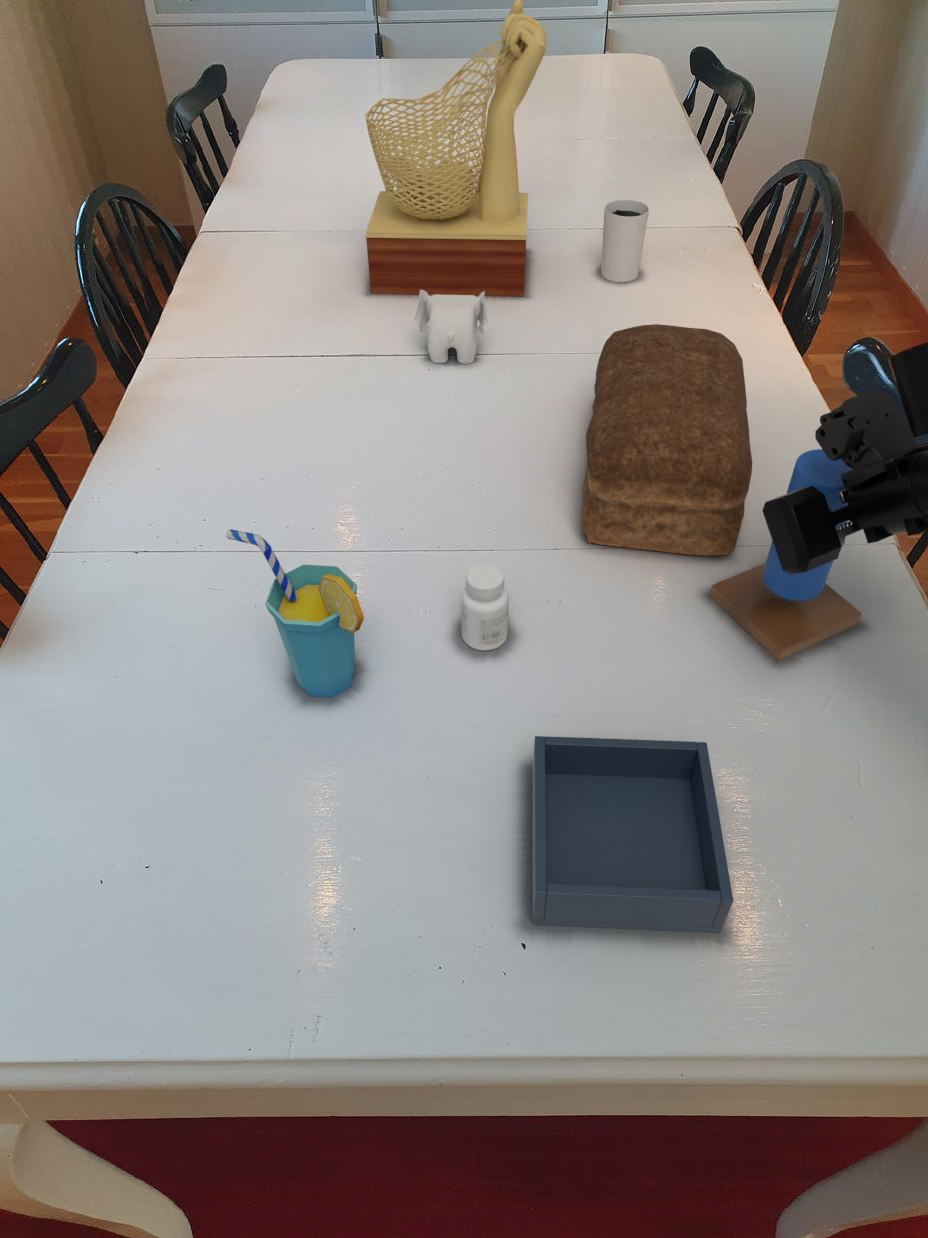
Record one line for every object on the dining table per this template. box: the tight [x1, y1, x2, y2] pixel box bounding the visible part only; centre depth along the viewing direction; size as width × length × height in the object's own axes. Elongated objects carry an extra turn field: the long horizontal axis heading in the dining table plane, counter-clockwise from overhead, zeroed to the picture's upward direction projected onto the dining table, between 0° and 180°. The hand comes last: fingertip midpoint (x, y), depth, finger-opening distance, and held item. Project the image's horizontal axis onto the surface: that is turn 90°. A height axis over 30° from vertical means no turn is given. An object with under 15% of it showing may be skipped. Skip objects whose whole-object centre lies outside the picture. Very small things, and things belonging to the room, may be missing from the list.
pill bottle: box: [460, 563, 510, 651], centre depth 84 cm, size 4×4×8 cm
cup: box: [225, 528, 365, 699], centre depth 78 cm, size 14×8×15 cm, turn 62°
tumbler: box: [762, 448, 852, 601], centre depth 81 cm, size 6×6×13 cm
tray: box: [531, 735, 734, 934], centre depth 69 cm, size 14×14×5 cm
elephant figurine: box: [414, 290, 489, 365], centre depth 122 cm, size 10×12×9 cm
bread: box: [580, 323, 753, 557], centre depth 100 cm, size 17×30×13 cm, turn 170°
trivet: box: [709, 562, 863, 662], centre depth 88 cm, size 10×10×2 cm
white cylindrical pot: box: [600, 199, 650, 283], centre depth 138 cm, size 7×7×10 cm
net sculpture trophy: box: [364, 0, 548, 297], centre depth 130 cm, size 25×18×35 cm
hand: (799, 520), depth 82 cm, fingers closed on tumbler, 5 cm apart
